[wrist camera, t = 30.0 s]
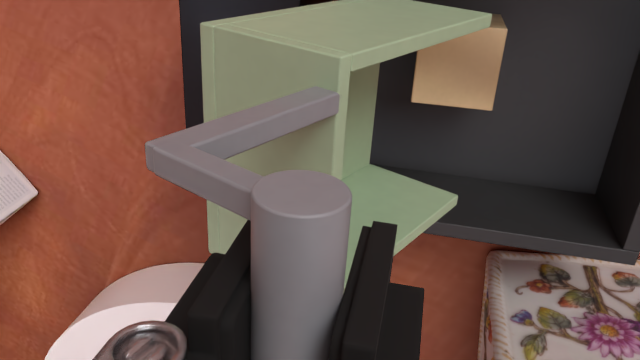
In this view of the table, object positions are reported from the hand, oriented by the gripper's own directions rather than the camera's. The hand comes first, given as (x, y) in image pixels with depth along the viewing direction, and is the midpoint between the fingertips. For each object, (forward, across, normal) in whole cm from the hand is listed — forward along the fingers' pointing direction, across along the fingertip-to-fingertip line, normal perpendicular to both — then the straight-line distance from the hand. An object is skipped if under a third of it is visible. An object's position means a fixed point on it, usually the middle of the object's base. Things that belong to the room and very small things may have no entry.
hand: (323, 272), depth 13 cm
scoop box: (+7, +4, 0) cm, 8 cm away
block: (+17, -3, -1) cm, 18 cm away
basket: (+22, -5, 0) cm, 23 cm away
